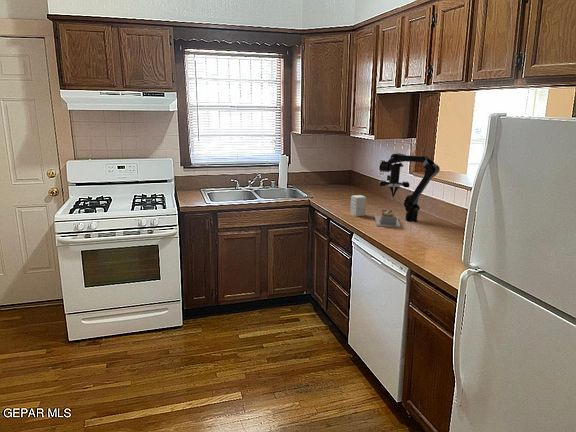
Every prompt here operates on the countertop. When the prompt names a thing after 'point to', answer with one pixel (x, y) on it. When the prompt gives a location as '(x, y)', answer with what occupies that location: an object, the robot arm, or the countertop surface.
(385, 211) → the housing
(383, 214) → the press ram
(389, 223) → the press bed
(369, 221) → the countertop surface
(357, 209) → the supplement box
